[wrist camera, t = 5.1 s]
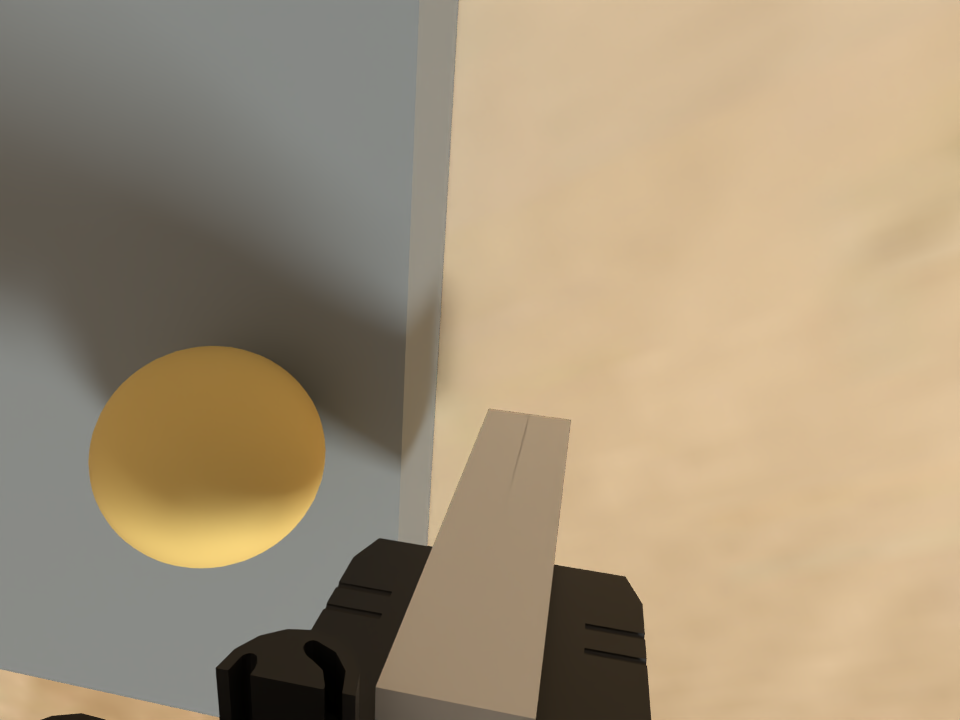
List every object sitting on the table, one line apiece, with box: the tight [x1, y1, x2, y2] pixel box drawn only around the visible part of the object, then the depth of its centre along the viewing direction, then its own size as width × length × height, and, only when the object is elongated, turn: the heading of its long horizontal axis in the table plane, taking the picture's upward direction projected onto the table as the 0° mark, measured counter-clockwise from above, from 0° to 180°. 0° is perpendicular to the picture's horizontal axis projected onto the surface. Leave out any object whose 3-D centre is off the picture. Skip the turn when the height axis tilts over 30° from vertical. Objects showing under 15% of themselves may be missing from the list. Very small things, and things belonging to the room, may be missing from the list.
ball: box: [88, 346, 326, 568], centre depth 12 cm, size 4×4×4 cm
